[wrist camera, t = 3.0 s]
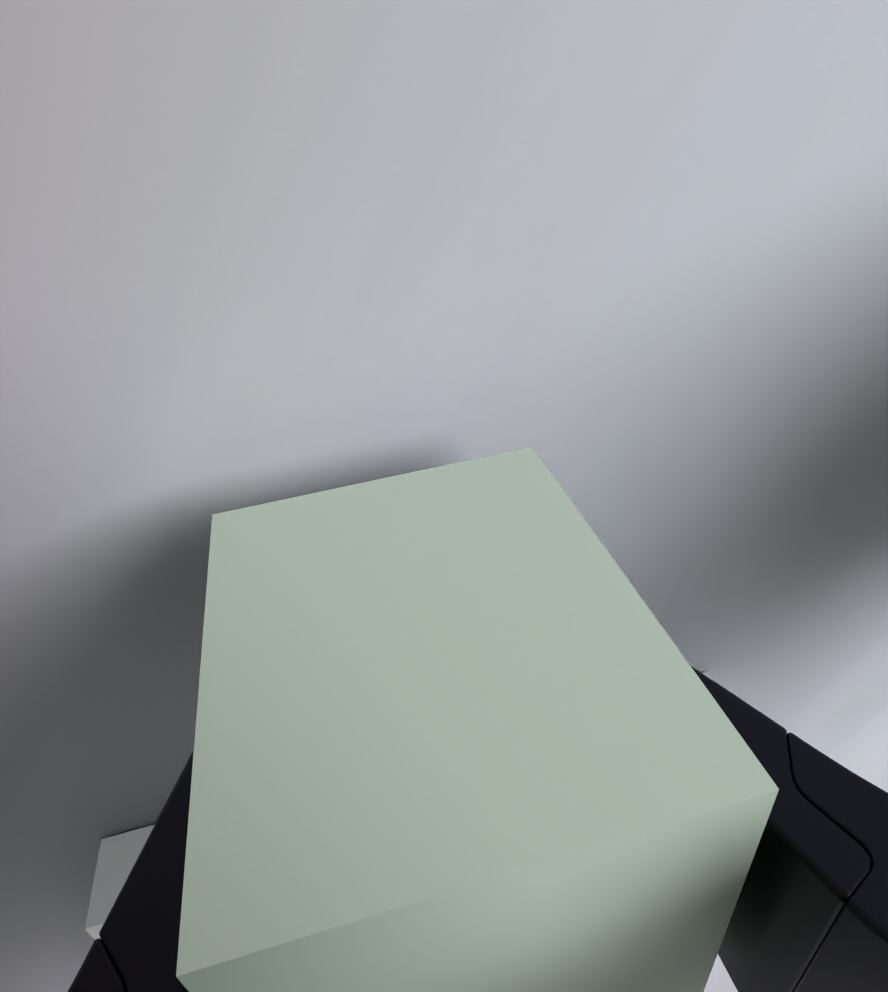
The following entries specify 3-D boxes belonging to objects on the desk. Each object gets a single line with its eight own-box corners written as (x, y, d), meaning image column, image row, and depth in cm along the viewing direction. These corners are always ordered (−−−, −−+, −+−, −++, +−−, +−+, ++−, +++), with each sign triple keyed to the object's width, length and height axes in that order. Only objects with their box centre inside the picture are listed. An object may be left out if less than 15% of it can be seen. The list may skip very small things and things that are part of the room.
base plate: (707, 671, 18) (752, 732, 16) (652, 922, 27) (677, 976, 26) (101, 839, 16) (84, 929, 14) (266, 1050, 25) (268, 1120, 23)
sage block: (532, 446, 10) (779, 788, 6) (536, 656, 13) (699, 1001, 8) (212, 514, 10) (176, 977, 5) (289, 721, 13) (315, 1138, 8)
